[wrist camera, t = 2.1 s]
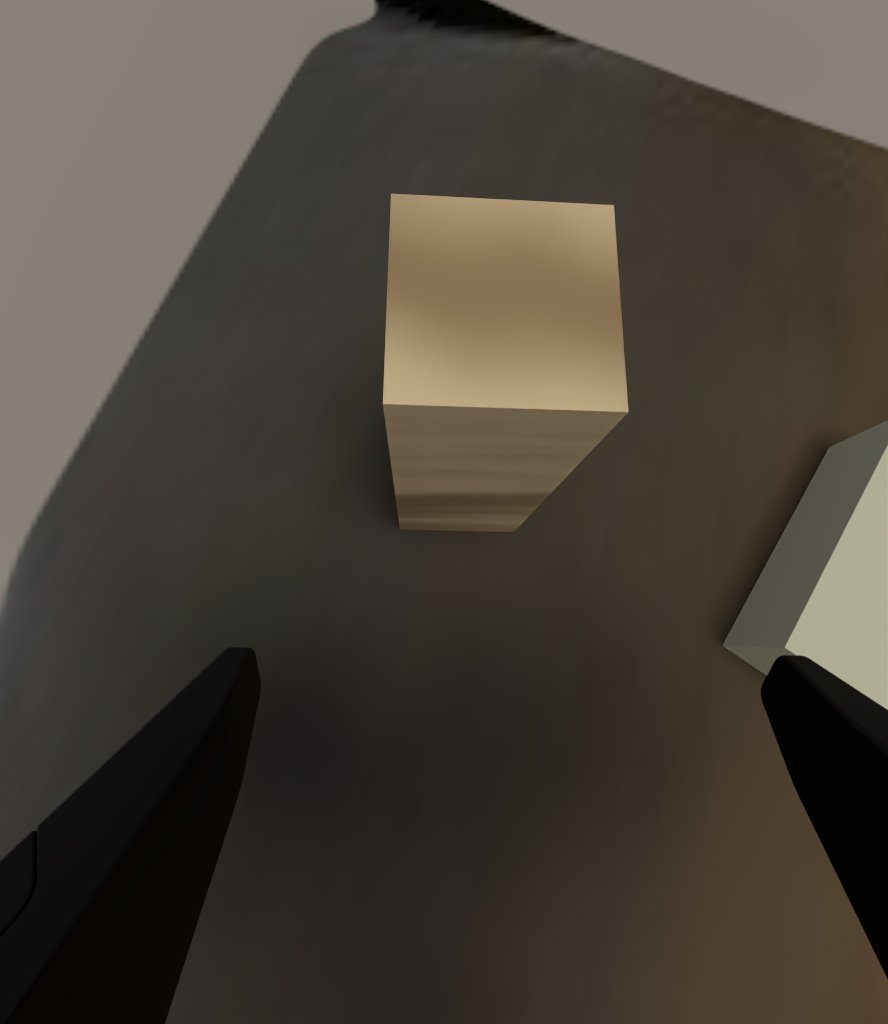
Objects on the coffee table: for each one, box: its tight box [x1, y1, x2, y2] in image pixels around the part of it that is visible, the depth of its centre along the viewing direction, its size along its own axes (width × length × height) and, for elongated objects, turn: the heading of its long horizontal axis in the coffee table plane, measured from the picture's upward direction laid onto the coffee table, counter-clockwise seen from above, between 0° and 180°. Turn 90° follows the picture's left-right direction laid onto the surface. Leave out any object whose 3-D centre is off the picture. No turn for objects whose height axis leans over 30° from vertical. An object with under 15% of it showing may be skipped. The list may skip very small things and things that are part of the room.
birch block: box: [383, 194, 628, 532], centre depth 18 cm, size 5×5×13 cm
